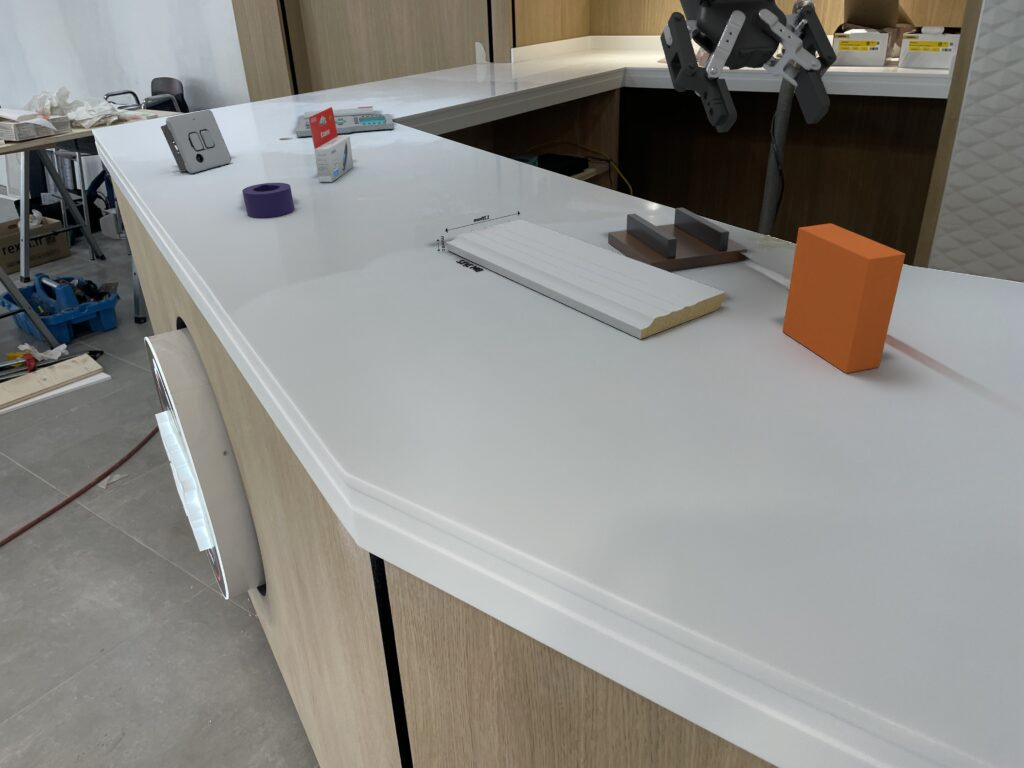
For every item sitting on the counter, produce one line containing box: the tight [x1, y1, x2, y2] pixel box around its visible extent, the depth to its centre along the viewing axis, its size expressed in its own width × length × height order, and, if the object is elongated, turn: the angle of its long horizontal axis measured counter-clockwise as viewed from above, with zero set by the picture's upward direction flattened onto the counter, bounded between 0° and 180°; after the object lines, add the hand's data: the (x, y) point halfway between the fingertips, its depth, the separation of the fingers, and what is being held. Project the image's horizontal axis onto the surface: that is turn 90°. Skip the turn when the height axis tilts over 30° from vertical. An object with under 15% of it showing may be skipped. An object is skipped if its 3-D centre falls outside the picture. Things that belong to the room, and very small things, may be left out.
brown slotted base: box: [607, 207, 748, 272], centre depth 80 cm, size 11×11×3 cm
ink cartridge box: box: [308, 106, 354, 183], centre depth 117 cm, size 2×11×10 cm, turn 174°
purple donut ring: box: [241, 182, 295, 219], centre depth 102 cm, size 12×6×3 cm, turn 26°
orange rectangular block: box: [782, 222, 906, 374], centre depth 56 cm, size 3×8×9 cm, turn 17°
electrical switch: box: [160, 109, 233, 174], centre depth 126 cm, size 9×5×9 cm, turn 153°
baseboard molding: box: [436, 210, 726, 340], centre depth 74 cm, size 31×3×12 cm
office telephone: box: [295, 105, 394, 137], centre depth 160 cm, size 23×3×20 cm
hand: (774, 122), depth 60 cm, fingers open, 8 cm apart
